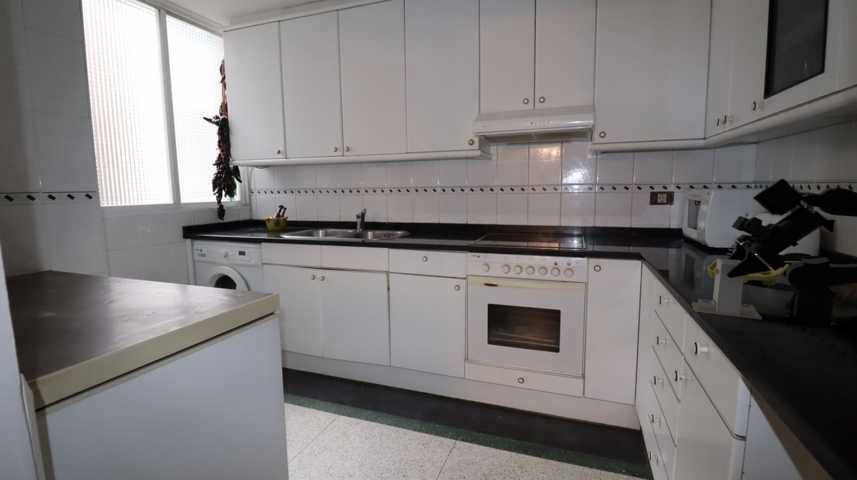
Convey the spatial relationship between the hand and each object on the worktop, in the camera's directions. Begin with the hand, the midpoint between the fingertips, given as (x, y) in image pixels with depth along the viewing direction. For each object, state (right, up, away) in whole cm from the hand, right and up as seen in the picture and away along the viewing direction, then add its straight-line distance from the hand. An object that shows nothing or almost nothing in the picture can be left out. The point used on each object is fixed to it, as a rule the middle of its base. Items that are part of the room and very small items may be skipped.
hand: (724, 272), depth 98 cm
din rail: (+1, -10, +1) cm, 10 cm away
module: (+1, -9, +1) cm, 9 cm away
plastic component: (+29, -6, +31) cm, 43 cm away
